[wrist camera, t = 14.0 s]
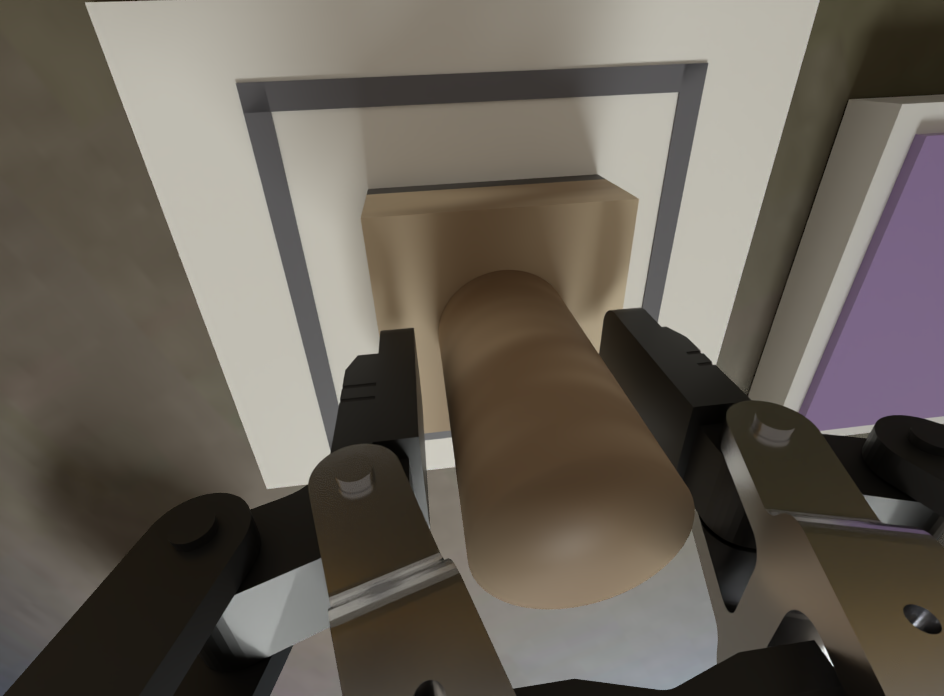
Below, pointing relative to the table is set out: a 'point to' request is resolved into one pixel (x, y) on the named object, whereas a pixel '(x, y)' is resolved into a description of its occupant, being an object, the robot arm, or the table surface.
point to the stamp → (529, 379)
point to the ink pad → (867, 277)
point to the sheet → (435, 157)
